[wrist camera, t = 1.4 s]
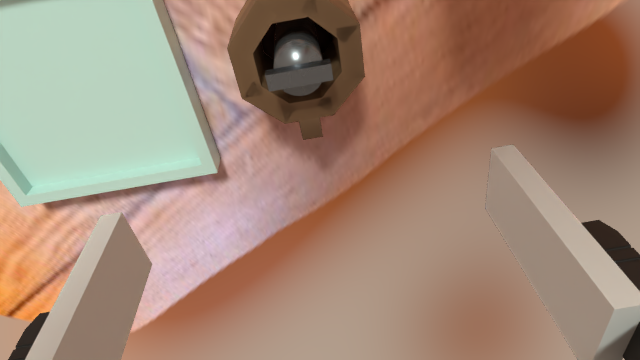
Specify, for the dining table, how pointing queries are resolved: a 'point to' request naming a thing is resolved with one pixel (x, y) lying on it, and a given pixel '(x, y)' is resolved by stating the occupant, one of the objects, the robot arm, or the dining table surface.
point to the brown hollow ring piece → (251, 62)
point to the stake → (297, 59)
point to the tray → (95, 100)
